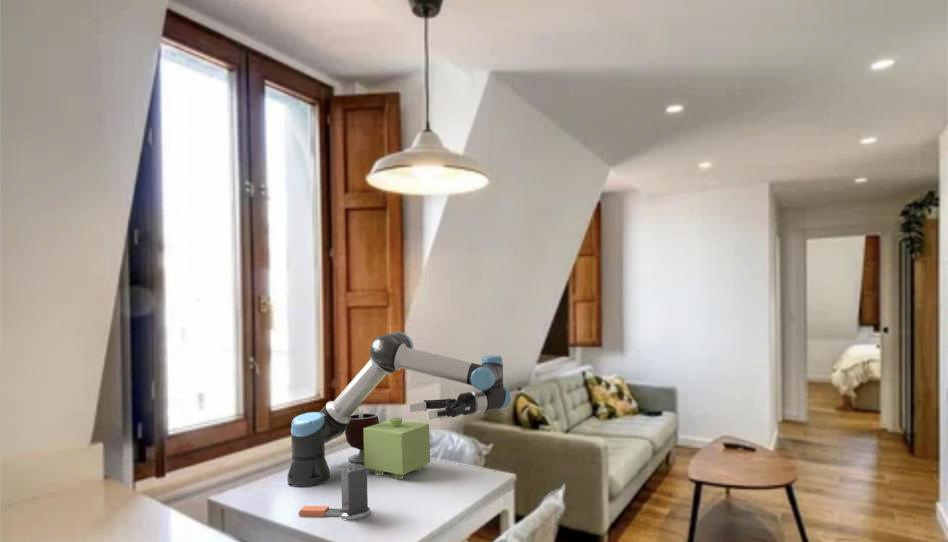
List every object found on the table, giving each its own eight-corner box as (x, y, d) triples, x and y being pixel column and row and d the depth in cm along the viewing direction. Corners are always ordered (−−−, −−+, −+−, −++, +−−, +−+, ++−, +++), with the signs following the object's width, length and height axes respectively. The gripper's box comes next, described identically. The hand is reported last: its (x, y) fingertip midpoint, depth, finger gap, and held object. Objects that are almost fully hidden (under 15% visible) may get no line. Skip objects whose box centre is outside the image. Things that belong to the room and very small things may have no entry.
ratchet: (373, 509, 172) (373, 496, 172) (364, 521, 163) (364, 507, 163) (306, 508, 175) (306, 495, 175) (294, 520, 166) (294, 506, 166)
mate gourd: (382, 460, 220) (380, 409, 222) (347, 464, 216) (345, 413, 218) (378, 451, 235) (376, 404, 236) (345, 455, 231) (343, 407, 233)
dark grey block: (349, 516, 164) (348, 472, 165) (342, 510, 169) (341, 467, 170) (367, 511, 167) (366, 468, 168) (360, 505, 172) (359, 463, 173)
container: (364, 473, 206) (363, 420, 207) (393, 461, 220) (391, 411, 221) (402, 482, 196) (401, 425, 197) (430, 468, 209) (429, 416, 210)
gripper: (492, 419, 183) (436, 430, 171) (453, 407, 204) (402, 416, 192) (491, 397, 183) (436, 406, 171) (452, 387, 204) (401, 395, 192)
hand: (417, 411), depth 182 cm, fingers open, 13 cm apart
